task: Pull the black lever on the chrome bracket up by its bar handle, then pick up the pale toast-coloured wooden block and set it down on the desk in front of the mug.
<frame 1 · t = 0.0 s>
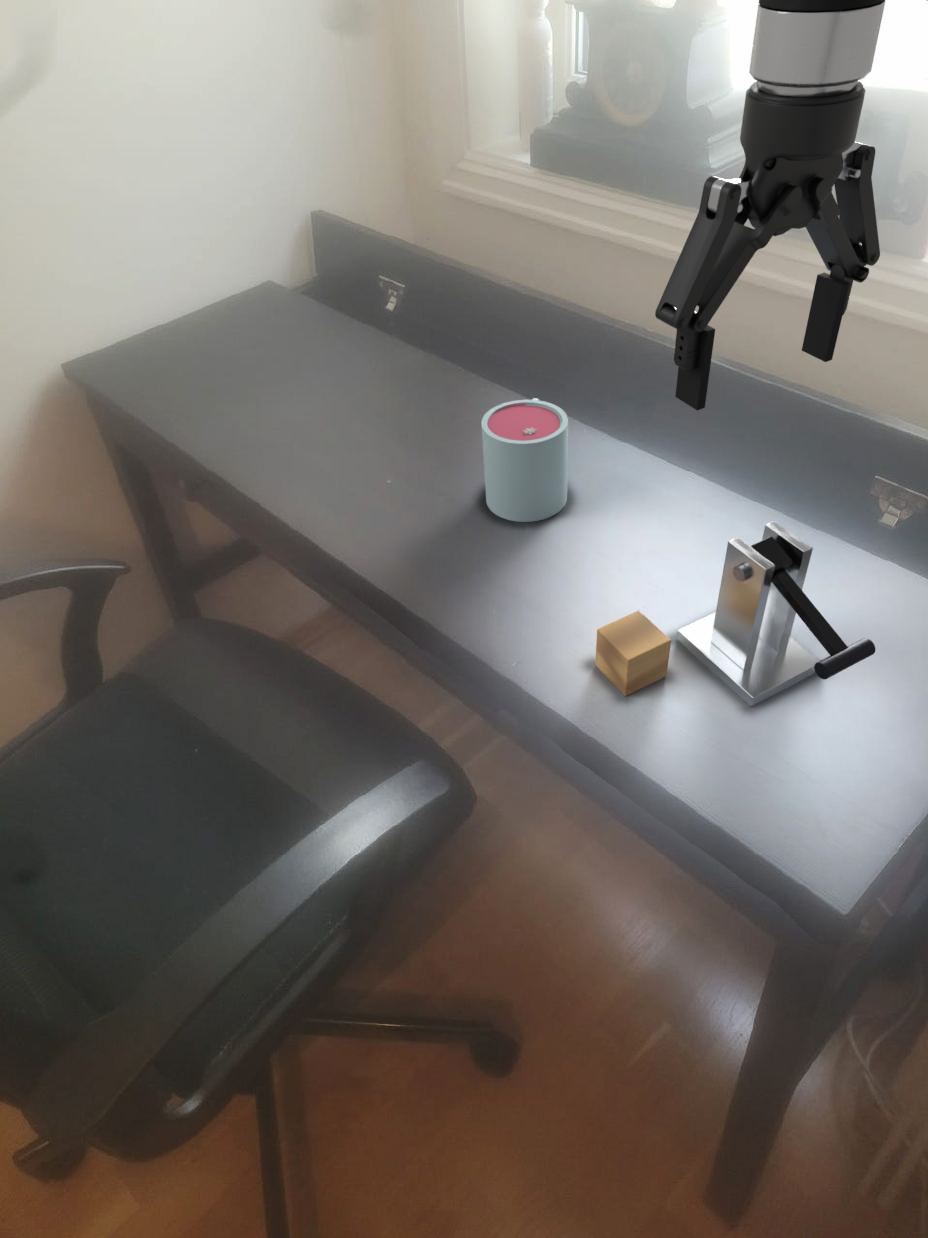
hand: (755, 378, 71), 22 cm above the table, tool pointing down, fingers open, 13 cm apart
bracket: (746, 654, 79), on the table
lever: (801, 605, 70), point 9 cm above the table, hinge at -20.0°
block: (630, 670, 78), on the table
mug: (529, 488, 101), on the table
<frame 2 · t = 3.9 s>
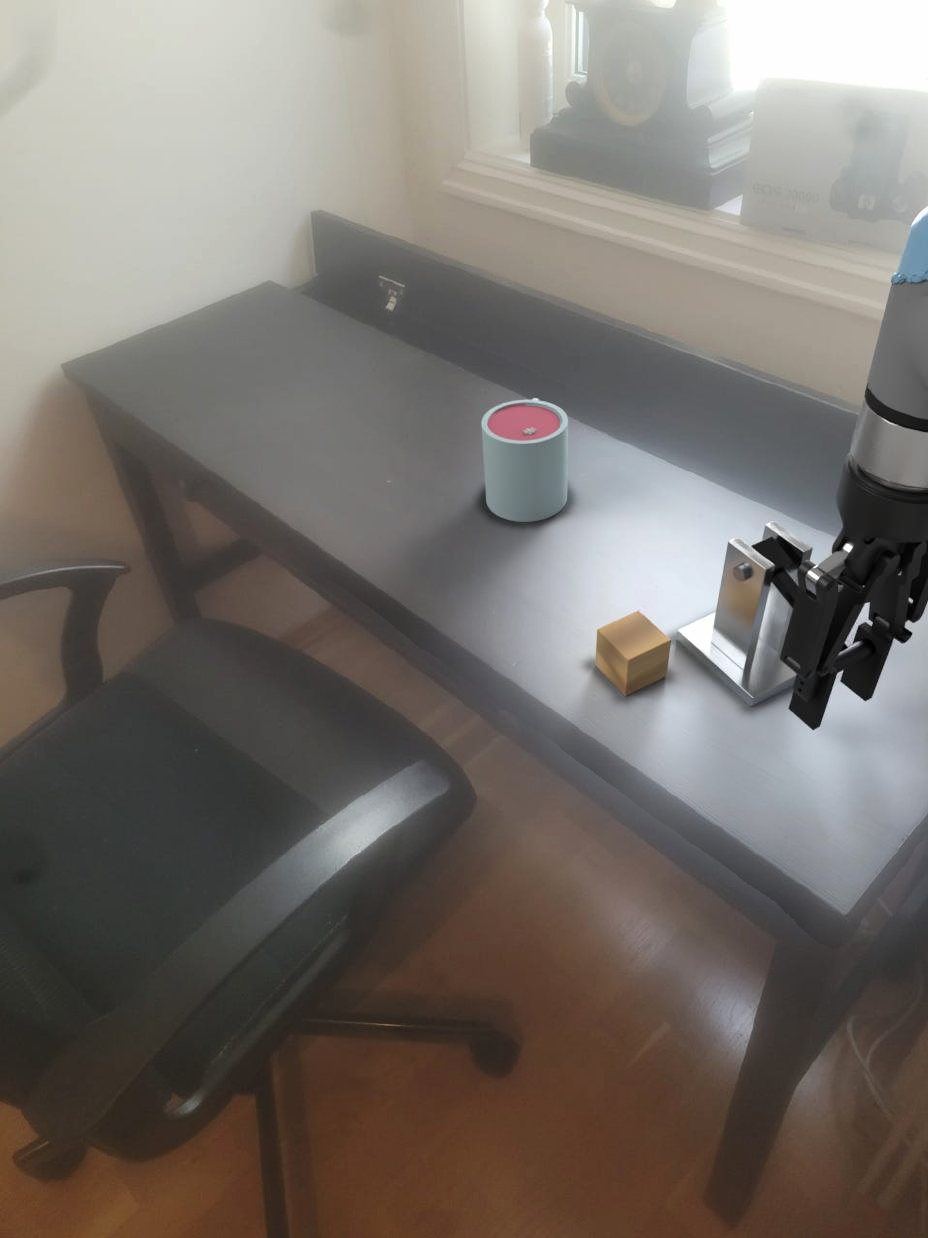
hand: (830, 703, 71), 2 cm above the table, tool pointing down, fingers closed on lever, 5 cm apart
lever: (801, 605, 70), point 9 cm above the table, hinge at -20.0°, touching gripper
everything else where it was.
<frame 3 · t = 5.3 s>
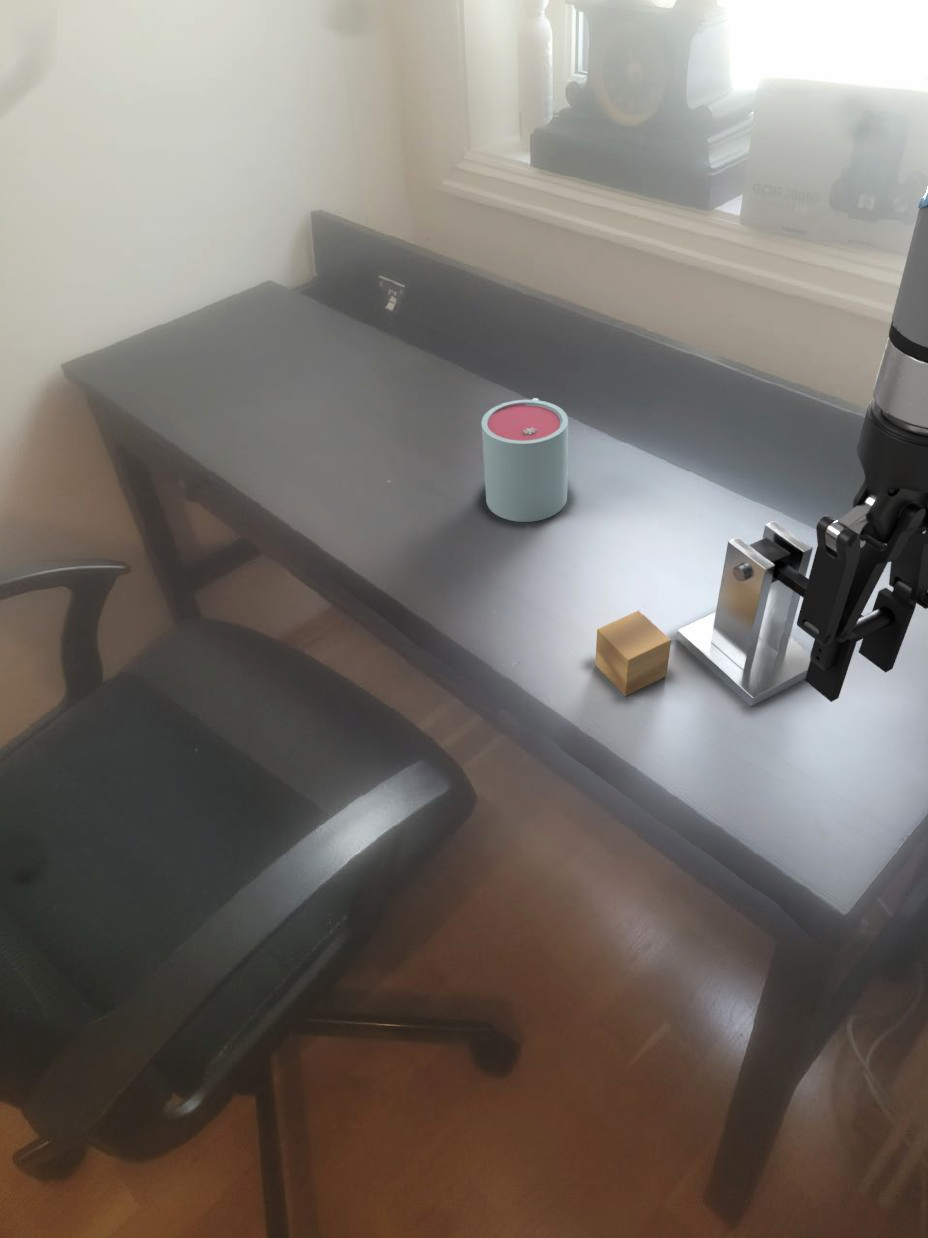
hand: (848, 674, 68), 6 cm above the table, tool pointing down, fingers closed on lever, 5 cm apart
lever: (809, 590, 68), point 11 cm above the table, hinge at 2.4°, touching gripper
everything else where it was.
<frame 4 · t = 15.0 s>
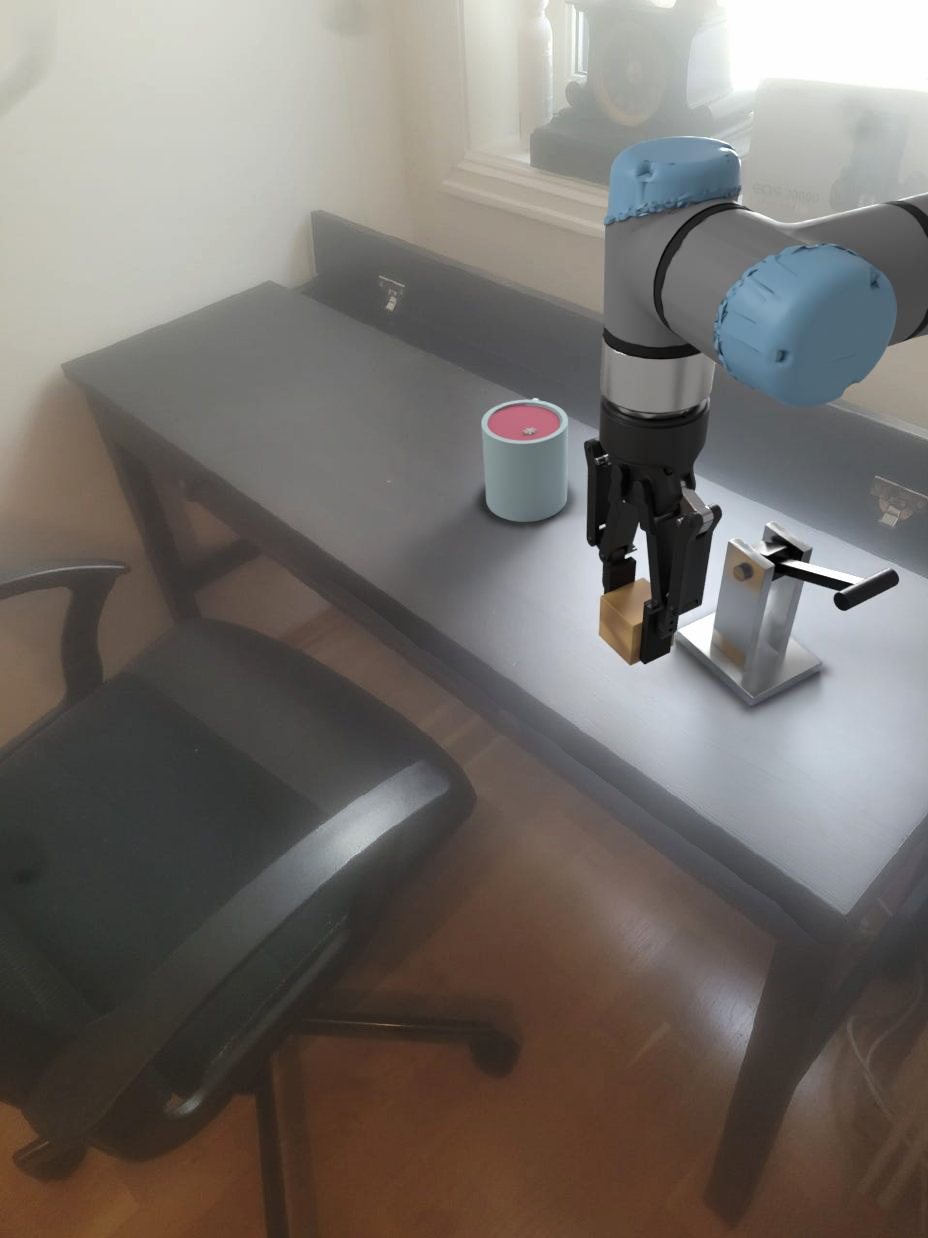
hand: (635, 637, 75), 4 cm above the table, tool pointing down, fingers closed on block, 5 cm apart
lever: (809, 573, 67), point 13 cm above the table, hinge at 21.7°
block: (635, 640, 75), point 4 cm above the table, touching gripper
everything else where it was.
when the fingers open (0 cm above the table, at t = 20.8 s): block stays where it is, on the table.
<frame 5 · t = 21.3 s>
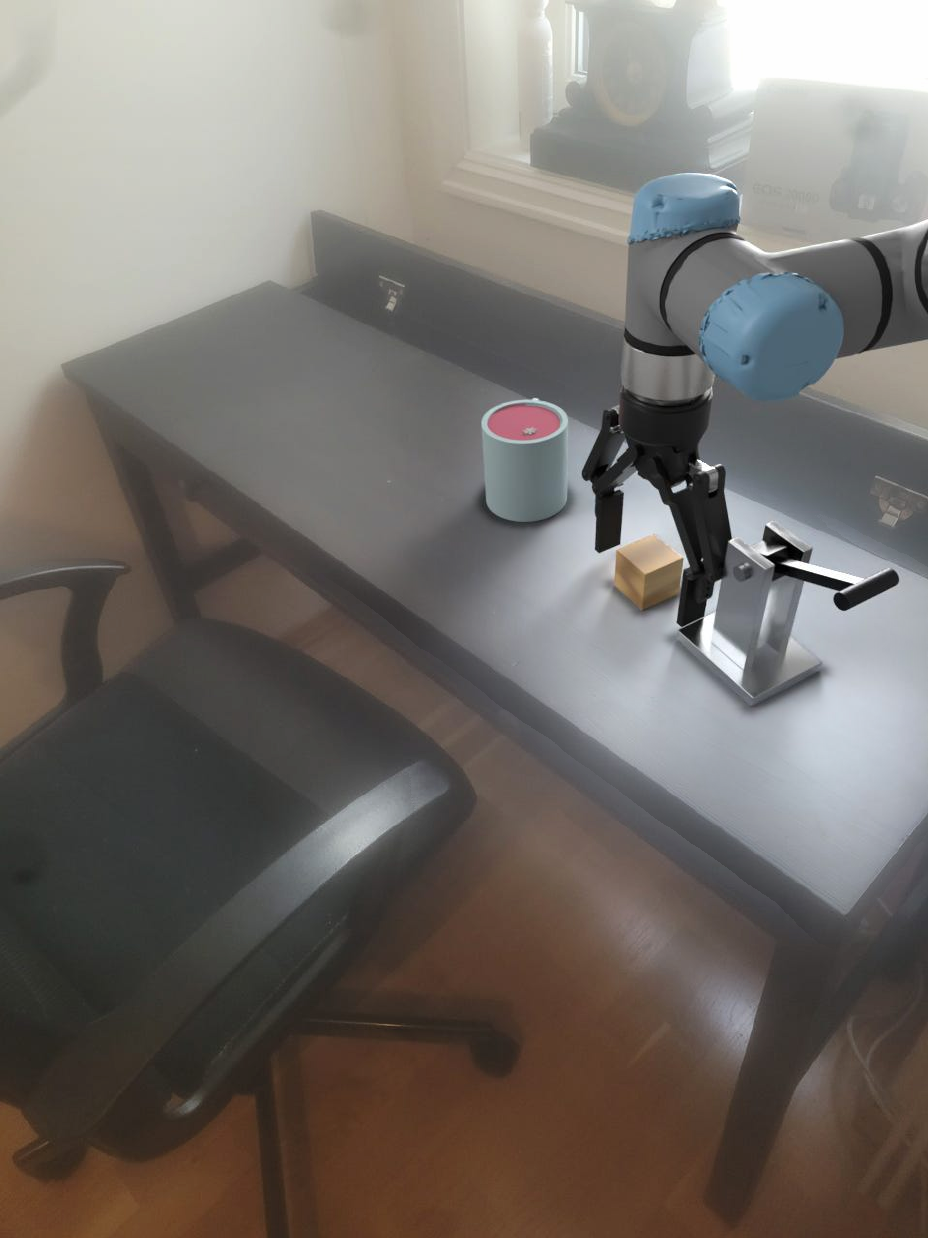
hand: (646, 581, 86), 1 cm above the table, tool pointing down, fingers open, 12 cm apart
block: (646, 589, 86), on the table
everything else where it was.
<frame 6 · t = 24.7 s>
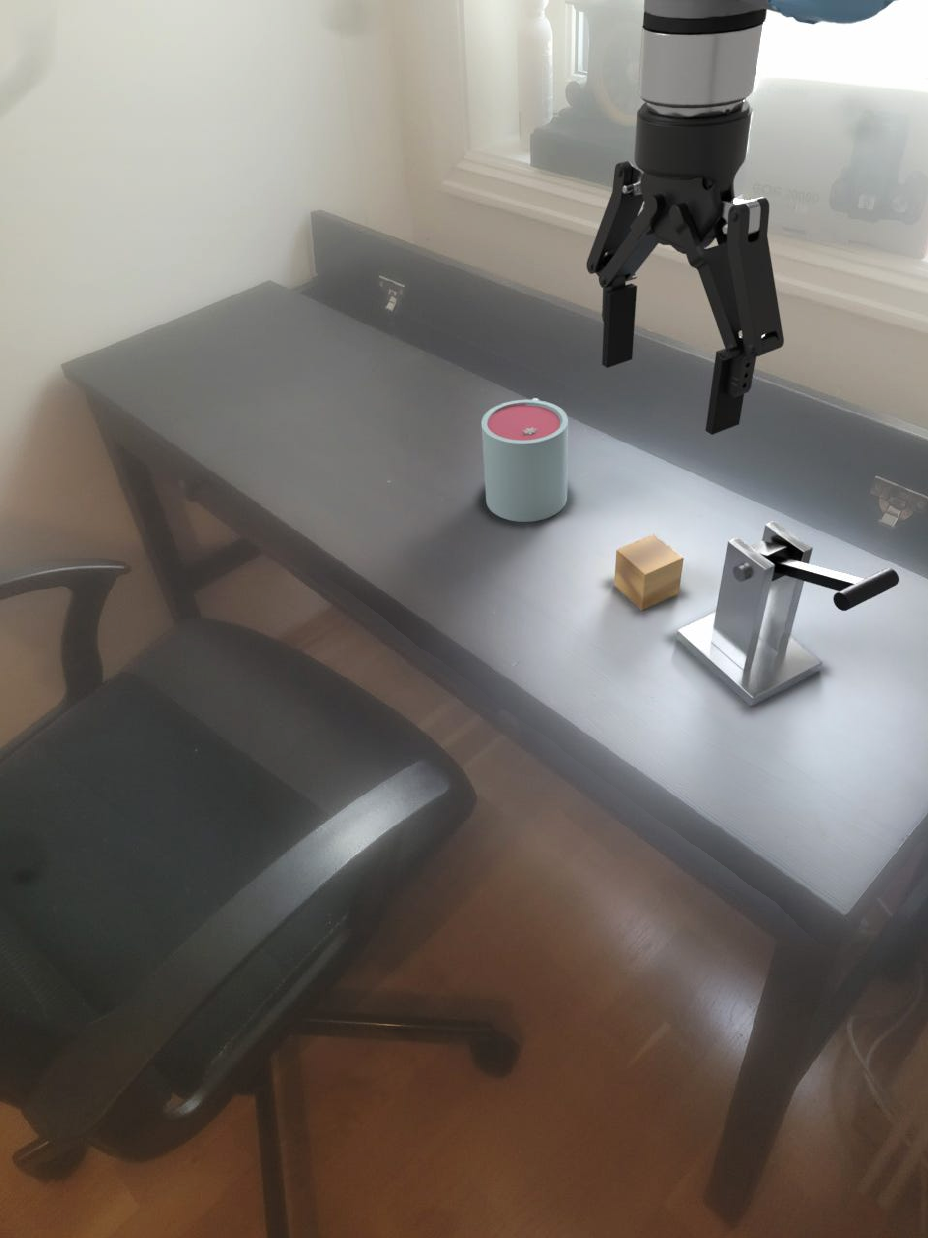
hand: (666, 393, 72), 22 cm above the table, tool pointing down, fingers open, 13 cm apart
nothing on the table moved.
at the end: lever at +22° (first picture: -20°); block inside the target area on the table beside the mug (0.1 cm from its centre), on the table; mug moved 0.2 cm from its start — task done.
